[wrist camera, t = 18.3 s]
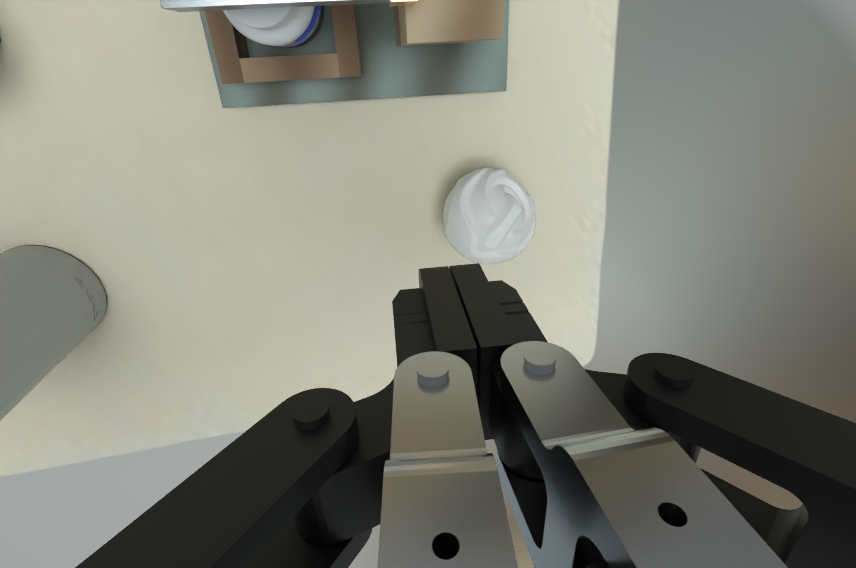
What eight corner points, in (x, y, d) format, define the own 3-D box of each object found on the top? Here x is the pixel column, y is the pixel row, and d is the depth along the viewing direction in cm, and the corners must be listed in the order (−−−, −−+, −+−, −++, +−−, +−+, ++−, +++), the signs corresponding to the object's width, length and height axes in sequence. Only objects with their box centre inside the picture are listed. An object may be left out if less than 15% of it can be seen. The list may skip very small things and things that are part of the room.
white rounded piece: (536, 199, 41) (569, 229, 34) (480, 258, 43) (500, 297, 37) (475, 141, 38) (498, 161, 31) (418, 208, 40) (427, 239, 34)
